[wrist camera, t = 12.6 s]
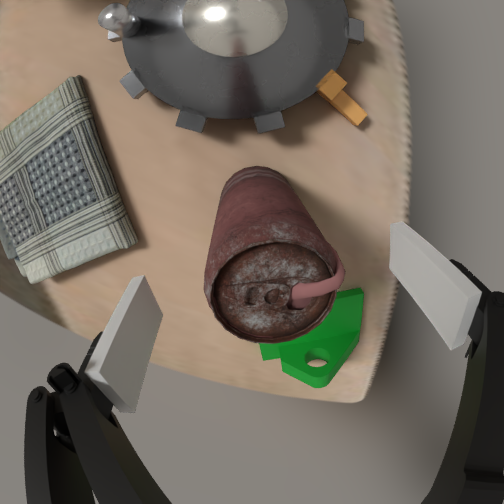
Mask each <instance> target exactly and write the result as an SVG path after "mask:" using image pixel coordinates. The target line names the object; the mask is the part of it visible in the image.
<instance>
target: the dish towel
mask: <svg viewBox="0 0 504 504" xmlns="http://www.w3.org/2000/svg"><path fill="white" fill-rule="evenodd" d="M0 239H1V242H2V245H3V247H4V250H5V252H6V255H7V257H8V259H12V258H14V259H15V262H16V264H17V266H18V267H19V270H20V272H21V274H22V275H23V276H24V277H26V276H28V279H29V282H30V283H31V284H34V283H37V282H40V281H43V280H45V279H48V278H50V277H53V276H55V275H57V274H59V273H61V272H64V271H66V270H69V269H71V268H75V267H77V266H79V265H82V264H83V263H85V262H88V261H91V260H93V259H95V258H98V257H101V256H103V255H105V254H108V253H111V252H113V251H116V250H119V249H122V248H129V247H131V246H132V245H134V244H136V243H137V242H138V239H137V236H136V233H135V231H134V229H133V226H132V223H131V222H130V219H129V217H128V214H127V212H126V210H125V207H124V205H123V202H122V200H121V197H120V194H119V191H118V189H117V186H116V184H115V181H114V177H113V175H112V172H111V169H110V167H109V164H108V162H107V159H106V156H105V153H104V151H103V147H102V145H101V142H100V138H99V136H98V132H97V128H96V125H95V122H94V118H93V115H92V112H91V108H90V104H89V101H88V97H87V94H86V92H85V89H84V86H83V82H82V79H81V76H80V75H78V76H76V77H69V78H68V79H67V80H66V81H65V82H64V83H62V84H61V85H60V86H59V87H58V88H56V89H55V90H54V91H53V92H51V93H50V94H49V95H47V96H46V97H45V98H43V99H42V100H41V101H39V102H38V103H36V104H35V105H34V106H32V107H31V108H29V109H28V110H26V111H25V112H24V113H22V114H21V115H20V116H19V117H17V118H16V119H15V120H14V121H12V122H11V123H10V124H9V125H8V126H6V127H5V128H4V129H3V130H1V131H0Z"/></svg>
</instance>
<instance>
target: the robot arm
mask: <svg viewBox="0 0 504 504" xmlns="http://www.w3.org/2000/svg"><path fill="white" fill-rule="evenodd" d="M389 269H390V270H391V271H392V273H393V274H394V275H395V276H396V277H397V279H398V280H399V281H400V282H401V284H402V285H403V286H404V287H405V289H406V290H407V291H408V292H409V294H410V295H411V296H412V297H413V299H414V300H415V302H416V303H417V304H418V306H419V307H420V308H421V309H422V311H423V312H424V314H425V315H426V316H427V318H428V319H429V320H430V322H431V323H432V325H433V326H434V327H435V329H436V330H437V332H439V334H440V336H441V337H442V339H443V340H444V341H445V343H446V345H447V346H448V347H449V349H450V350H453V349H455V348H457V347H459V346H461V345H463V344H464V343H465V340H466V338H467V335H469V336H470V337H471V339H472V341H471V343H470V345H469V348H468V350H467V353H466V355H465V357H466V358H467V356H468V354H469V356H468V363H467V370H466V376H465V381H464V387H463V392H462V396H461V401H460V405H459V409H458V413H457V417H456V421H455V425H454V428H453V431H452V435H451V438H450V441H449V444H448V448H447V451H446V453H445V456H444V459H443V461H442V464H441V467H440V469H439V472H438V474H437V477H436V479H435V481H434V484H433V486H432V488H431V490H430V492H429V493H428V495H427V496H426V497H425V499H424V500H423V502H422V503H421V504H502V502H503V500H504V474H503V470H504V293H502V292H499V291H498V292H495V291H494V292H491V291H490V290H489V289H488V288H487V287H486V286H485V285H484V284H483V283H482V282H480V281H479V280H478V279H477V278H476V277H475V276H473V274H472V273H471V272H470V271H468V269H467V268H466V267H464V266H463V265H462V264H461V263H459V262H457V261H455V260H453V259H451V260H448V259H447V258H446V257H444V256H443V255H442V254H441V253H440V252H439V251H438V250H437V249H435V248H434V247H433V246H432V245H431V244H430V243H428V242H427V241H426V240H425V239H424V238H422V237H421V236H420V235H419V234H417V233H416V232H415V231H414V230H413V229H411V228H410V227H409V226H408V225H406V224H405V223H404V222H403V221H402V222H397V223H393V224H390V264H389ZM162 317H163V314H162V312H161V310H160V308H159V305H158V303H157V301H156V299H155V297H154V295H153V293H152V291H151V289H150V286H149V284H148V282H147V280H146V278H145V275H143V276H138V277H133V278H132V279H131V281H130V283H129V285H128V286H127V288H126V290H125V292H124V294H123V295H122V297H121V299H120V301H119V303H118V305H117V306H116V308H115V310H114V312H113V314H112V316H111V318H110V320H109V322H108V324H107V326H106V328H105V330H104V331H103V332H100V333H99V334H98V336H97V337H96V338H95V339H94V340H93V342H92V345H91V347H90V349H89V351H88V353H87V355H86V357H85V359H84V361H83V363H82V365H81V367H80V369H79V372H78V374H77V373H76V372H75V371H74V370H73V369H72V367H71V366H70V365H69V364H68V363H60V364H58V365H56V366H55V367H54V368H53V369H52V370H51V371H50V372H49V374H48V377H47V382H48V383H49V385H50V386H51V387H52V388H53V389H54V390H55V391H56V392H52V393H49V391H48V390H47V389H46V388H45V387H43V386H39V387H37V388H35V389H33V391H31V393H30V395H29V397H28V400H27V409H26V422H25V441H24V444H25V445H24V467H25V486H26V496H27V504H95V500H94V496H93V492H94V494H95V496H96V498H97V500H98V502H99V504H172V503H171V502H170V501H169V499H168V498H167V497H166V496H165V494H164V493H163V491H162V490H161V489H160V487H159V486H158V485H157V483H156V482H155V480H154V479H153V478H152V476H151V475H150V473H149V472H148V470H147V469H146V467H145V466H144V465H143V463H142V461H141V460H140V458H139V456H138V455H137V453H136V452H135V450H134V448H133V447H132V445H131V443H130V441H129V440H128V438H127V436H126V435H125V433H124V431H123V429H122V427H121V425H120V424H119V422H118V420H117V418H116V416H115V415H114V414H113V412H112V411H111V410H112V407H113V405H114V406H115V407H116V408H117V409H118V410H119V411H120V412H126V413H127V412H128V413H135V411H136V407H137V403H138V399H139V395H140V391H141V387H142V384H143V380H144V377H145V373H146V370H147V366H148V363H149V359H150V356H151V353H152V349H153V346H154V343H155V339H156V336H157V333H158V330H159V326H160V323H161V320H162ZM54 430H56V433H57V435H56V436H55V435H54ZM92 490H93V492H92Z"/></svg>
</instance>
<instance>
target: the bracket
mask: <svg viewBox="0 0 504 504" xmlns="http://www.w3.org/2000/svg"><path fill="white" fill-rule="evenodd" d="M363 299H364V292H363V291H362V289H361V288H356V289H351V290H346V291H341V292H337V296H336V299H335V302H334V304H333V307H332V310H331V312H330V313H329V314H328V315H327V317H326V318H325V319H324V321H323V322H322V323H321V324H320V325H319V326H317V327H316V328H315V329H313V330H312V331H311V332H309V333H308V334H306V335H304V336H301V337H299V338H297V339H294V340H292V341H288V342H282V343H276V344H264V343H259V345H260V349H261V354H262V358H263V361H264V360H271V359H277V358H281V364H282V371H283V372H285V373H287V374H288V375H290V376H292V377H294V378H296V379H298V380H300V381H302V382H304V383H306V384H308V385H310V386H311V387H314V388H322V387H325V386H327V385H328V384H329V383H330V381H331V380H332V379H333V377H334V376H335V375H336V373H337V372H338V371H339V369H340V368H341V366H342V365H343V364H344V362H345V361H346V360H347V358H348V357H349V355H350V354H351V352H352V351H353V349H354V348H355V347H356V345H357V344H358V342H359V335H360V327H361V319H362V309H363ZM314 359H321V360H324V361H326V362H327V364H325V365H324V366H321V367H312V366H309V365H308V364H307V363H308V362H310V361H311V360H314Z"/></svg>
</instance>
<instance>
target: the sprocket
mask: <svg viewBox="0 0 504 504" xmlns="http://www.w3.org/2000/svg"><path fill="white" fill-rule="evenodd" d="M98 23H99V25H100V26H101V27H103V28H105V29H107V30H109V33H108V40H110V41H112V42H116V41H121V40H122V42H123V48H124V52H125V56H126V58H127V61H128V63H129V66H130V68H131V69H132V70H131V71H130V72H129V73H128V74H127V75H125V76H124V77H123V78H122V79H121V80H120V82H121V84H122V85H123V86H124V88H125V89H126V90H127V92H128V93H129V94H130V95H131V97H132V98H133V99H139V98H140V97H141V96H142V95H143V94H145V93H146V92H147V91H148V90H149V91H150V92H151V93H152V94H153V95H155V96H156V97H158V98H159V99H161V100H162V101H164V102H165V103H167V104H169V105H171V106H173V107H175V108H177V109H180V113H179V116H178V119H177V122H176V125H175V126H178V127H182V128H185V129H189V130H192V131H196V132H199V133H202V132H203V131H204V128H205V125H206V122H207V119H208V117H210V118H219V119H243V118H253V119H254V122H255V126H256V129H257V132H258V134H259V133H263V132H267V131H270V130H274V129H279V128H283V127H285V124H284V121H283V117H282V114H281V110H284V109H286V108H289V107H291V106H293V105H295V104H298V103H299V102H301V101H303V100H304V99H306V98H308V97H309V96H311V95H312V94H313V93H315V92H317V93H318V94H320V95H321V96H322V97H323V98H324V99H325V100H326V101H332V100H333V98H334V97H335V96H336V95H337V94H338V93H339V92H340V91H341V90H342V89H343V87H344V86H345V85H346V84H347V82H346V81H344V80H343V79H342V78H341V77H340V76H339V75H338V74H337V73H336V72H335V71H336V70H337V68H338V67H339V65H340V63H341V61H342V59H343V57H344V54H345V51H346V48H347V45H348V42H349V43H353V44H357V45H358V44H360V43H362V42H364V21H361V20H357V19H353V18H349V17H348V12H347V8H346V5H345V2H344V0H130V2H129V4H128V6H127V8H126V7H125V6H123V5H122V4H120V3H113V4H110V5H108V6H106V7H105V8H104V9H103V10H102V11H101V13H100V14H99V17H98Z"/></svg>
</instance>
